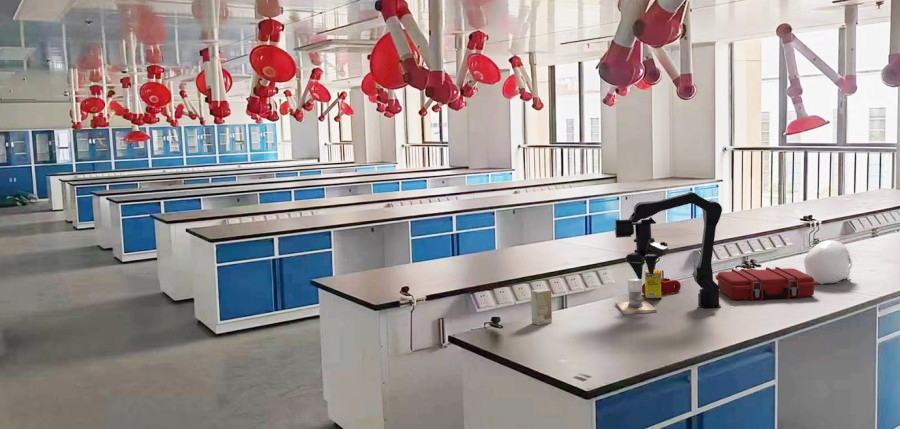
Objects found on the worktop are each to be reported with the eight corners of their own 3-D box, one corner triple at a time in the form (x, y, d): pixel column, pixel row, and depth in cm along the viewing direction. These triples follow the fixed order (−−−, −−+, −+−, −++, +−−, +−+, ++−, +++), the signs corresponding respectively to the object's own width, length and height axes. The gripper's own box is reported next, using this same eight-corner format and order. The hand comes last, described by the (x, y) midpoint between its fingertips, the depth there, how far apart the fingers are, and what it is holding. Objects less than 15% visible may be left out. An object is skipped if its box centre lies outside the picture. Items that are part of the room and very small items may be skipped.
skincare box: (538, 325, 263) (536, 292, 262) (531, 323, 267) (529, 290, 266) (553, 322, 266) (551, 289, 265) (546, 320, 270) (544, 287, 269)
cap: (627, 292, 276) (626, 281, 276) (628, 288, 281) (628, 278, 281) (641, 292, 274) (640, 281, 274) (642, 289, 279) (642, 278, 279)
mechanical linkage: (669, 288, 308) (668, 277, 308) (680, 291, 302) (680, 279, 301) (638, 294, 302) (637, 282, 302) (649, 297, 296) (648, 285, 295)
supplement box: (661, 299, 290) (661, 272, 289) (646, 299, 291) (645, 272, 290) (660, 296, 296) (659, 269, 294) (645, 296, 297) (644, 269, 296)
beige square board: (646, 303, 285) (645, 285, 285) (656, 312, 271) (656, 293, 271) (615, 305, 285) (614, 287, 285) (624, 314, 272) (623, 295, 271)
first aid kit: (793, 286, 300) (793, 265, 299) (819, 299, 277) (819, 276, 276) (714, 289, 302) (713, 269, 301) (732, 303, 279) (732, 281, 278)
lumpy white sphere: (864, 269, 306) (852, 230, 295) (848, 304, 296) (835, 266, 286) (824, 265, 317) (811, 228, 307) (808, 299, 308) (794, 262, 298)
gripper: (652, 240, 263) (654, 283, 265) (674, 232, 277) (676, 273, 279) (624, 239, 271) (626, 281, 273) (647, 231, 285) (649, 271, 286)
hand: (645, 276), depth 277 cm, fingers open, 9 cm apart
